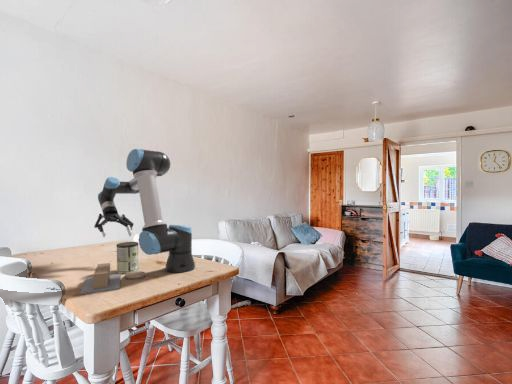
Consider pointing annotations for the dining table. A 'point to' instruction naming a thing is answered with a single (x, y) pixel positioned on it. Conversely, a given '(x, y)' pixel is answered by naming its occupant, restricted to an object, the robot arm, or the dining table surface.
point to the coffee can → (127, 257)
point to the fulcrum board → (110, 287)
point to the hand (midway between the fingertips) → (118, 234)
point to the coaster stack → (135, 275)
